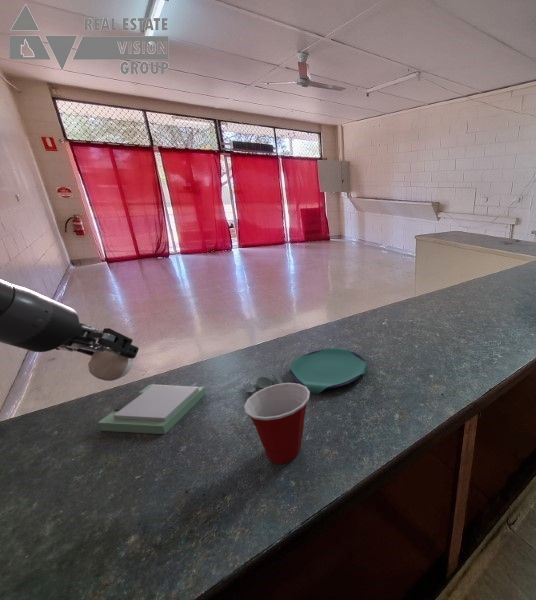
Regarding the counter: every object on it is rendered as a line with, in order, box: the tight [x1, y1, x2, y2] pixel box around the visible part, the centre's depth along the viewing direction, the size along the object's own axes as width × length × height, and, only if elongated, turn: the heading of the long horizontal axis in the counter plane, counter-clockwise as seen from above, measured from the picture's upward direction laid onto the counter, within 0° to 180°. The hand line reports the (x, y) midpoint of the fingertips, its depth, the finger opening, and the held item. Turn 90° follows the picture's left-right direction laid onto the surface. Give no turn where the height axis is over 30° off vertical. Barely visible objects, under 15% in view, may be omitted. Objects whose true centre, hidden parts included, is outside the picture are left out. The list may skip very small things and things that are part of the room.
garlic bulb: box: [87, 346, 134, 382], centre depth 58 cm, size 7×6×8 cm
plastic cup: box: [243, 382, 311, 465], centre depth 57 cm, size 11×11×12 cm
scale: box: [97, 384, 207, 435], centre depth 68 cm, size 13×13×3 cm
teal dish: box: [242, 347, 369, 397], centre depth 81 cm, size 20×30×2 cm, turn 130°
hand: (116, 352), depth 60 cm, fingers closed on garlic bulb, 6 cm apart
